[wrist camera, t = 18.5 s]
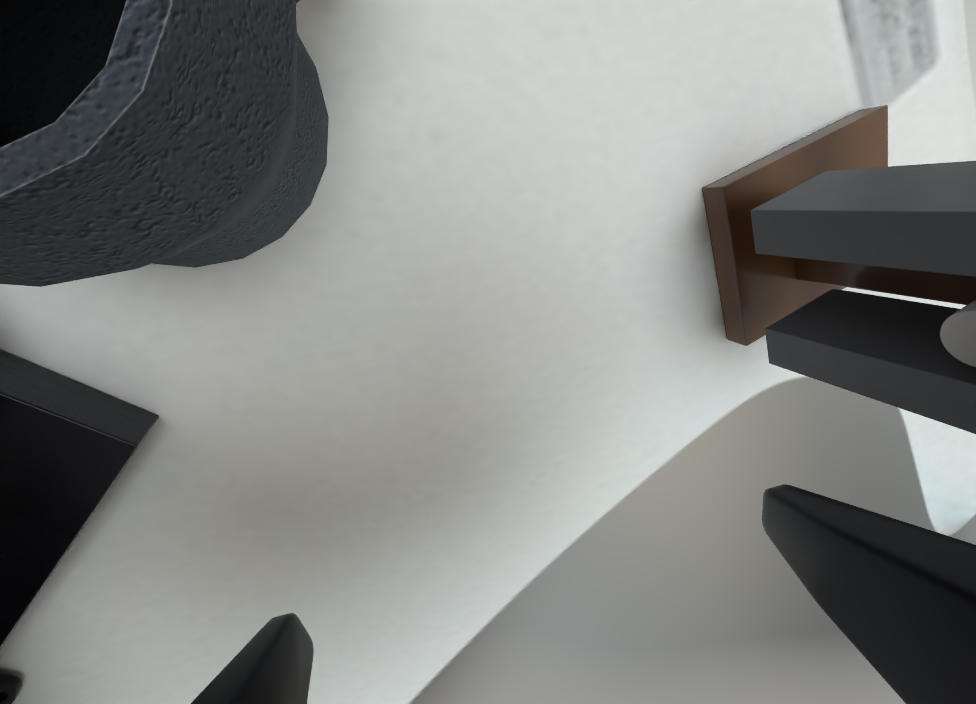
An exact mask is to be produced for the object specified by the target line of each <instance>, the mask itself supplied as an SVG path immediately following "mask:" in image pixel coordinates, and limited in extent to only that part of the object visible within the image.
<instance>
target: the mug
mask: <svg viewBox="0 0 976 704" xmlns="http://www.w3.org/2000/svg"><path fill="white" fill-rule="evenodd" d="M298 1H300V0H0V284H11V285H26V286H40V287H41V286H46V285H52V284H57V283H63V282H68V281H73V280H79V279H84V278H89V277H95V276H100V275H106V274H111V273H116V272H122V271H127V270H132V269H137V268H140V267H143V266H145V265H148V264H151V263H153V264H164V265H175V266H186V267H200V266H205V265H210V264H216V263H221V262H226V261H231V260H236V259H242V258H244V257H246V256H248V255H250V254H252V253H254V252H255V251H257V250H259V249H261V248H263V247H264V246H266V245H268V244H270V243H272V242H274V241H275V240H277V239H279V238H281V237H282V236H283V235H284V234H285V233H286V232H287V231H288V230H289V228H290V227H291V226H292V225H293V224H294V223H295V222H296V221H297V219H298V218H299V217H300V216H301V215H302V214H303V213H304V211H305V210H306V209H307V208H308V207H309V206H310V204H311V202H312V199H313V197H314V194H315V192H316V189H317V187H318V184H319V182H320V179H321V177H322V174H323V172H324V169H325V166H326V160H327V139H328V114H327V110H326V106H325V102H324V98H323V94H322V90H321V86H320V82H319V78H318V74H317V70H316V67H315V65H314V63H313V61H312V60H311V58H310V56H309V54H308V53H307V51H306V49H305V47H304V45H303V44H302V42H301V40H300V38H299V36H298V35H297V29H296V3H297V2H298Z"/></svg>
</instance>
